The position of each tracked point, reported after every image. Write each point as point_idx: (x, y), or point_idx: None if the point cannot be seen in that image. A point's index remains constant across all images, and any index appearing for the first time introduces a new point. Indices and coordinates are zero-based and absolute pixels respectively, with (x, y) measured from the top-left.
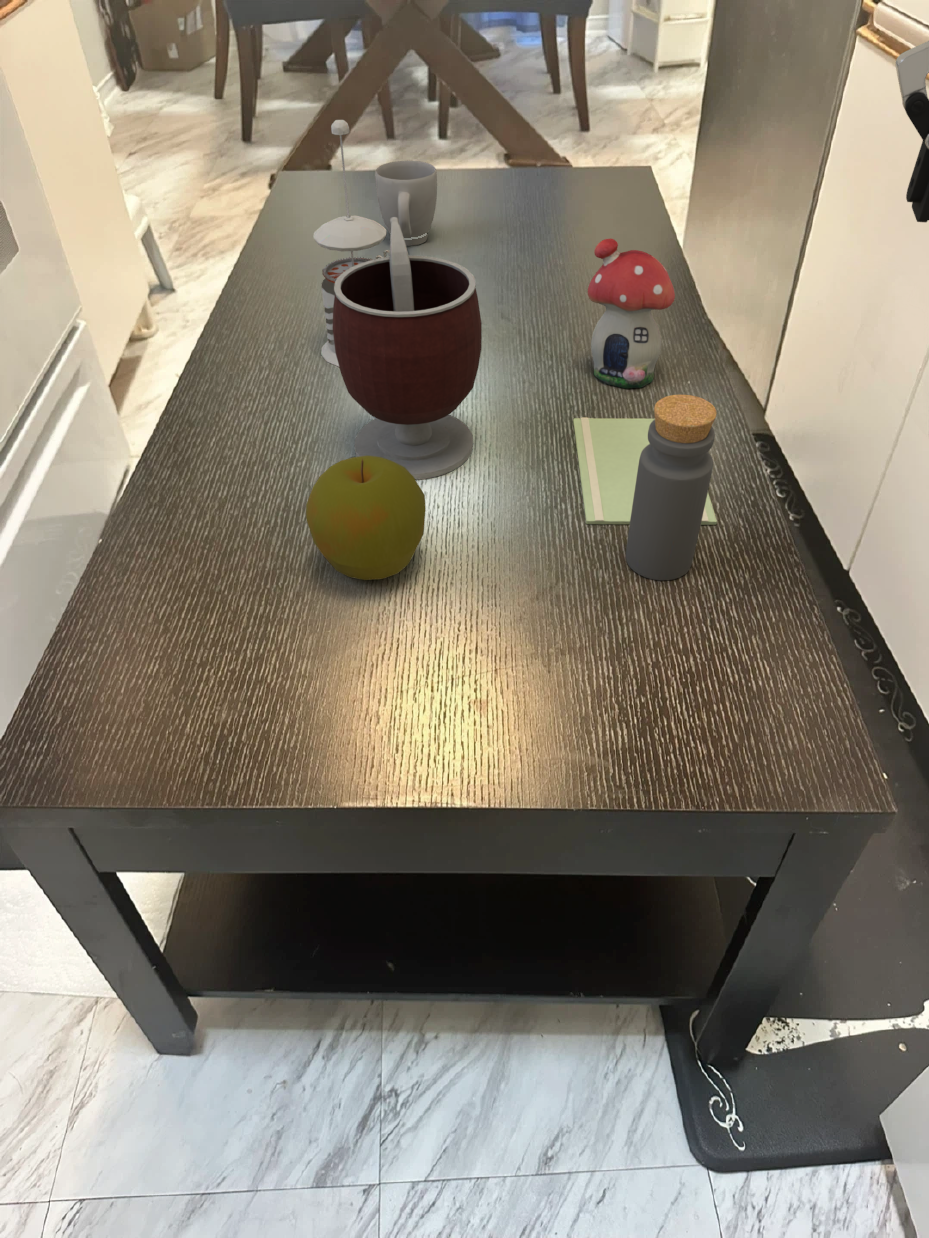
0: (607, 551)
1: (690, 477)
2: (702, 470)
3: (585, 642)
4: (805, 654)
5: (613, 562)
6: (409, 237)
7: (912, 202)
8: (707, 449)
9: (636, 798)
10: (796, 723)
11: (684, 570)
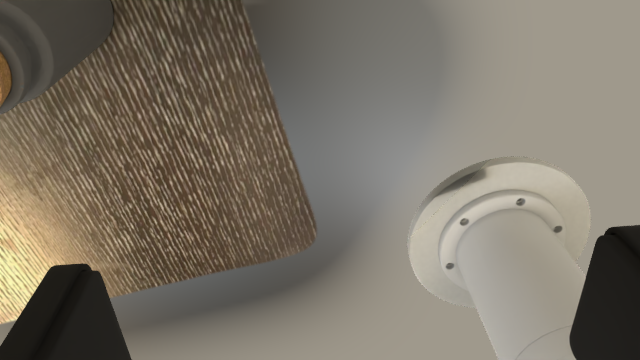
0: None
1: (34, 96)
2: (42, 81)
3: (54, 158)
4: (258, 117)
5: None
6: None
7: (53, 266)
8: (27, 89)
9: (156, 283)
10: (257, 196)
11: (107, 36)
